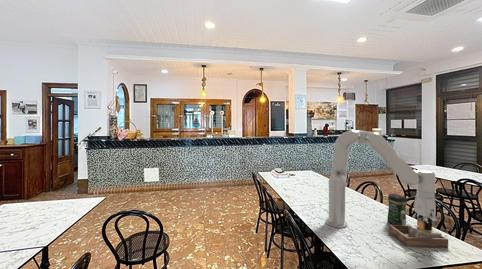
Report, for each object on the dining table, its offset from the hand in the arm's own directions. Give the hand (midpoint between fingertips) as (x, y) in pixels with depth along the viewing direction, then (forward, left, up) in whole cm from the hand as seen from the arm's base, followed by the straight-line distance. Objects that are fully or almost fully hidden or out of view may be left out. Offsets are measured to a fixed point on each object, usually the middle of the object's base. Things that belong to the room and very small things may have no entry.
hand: (424, 227), depth 125 cm
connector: (0, 0, -6) cm, 6 cm away
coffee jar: (-21, -2, -7) cm, 22 cm away
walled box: (0, -4, -7) cm, 8 cm away
